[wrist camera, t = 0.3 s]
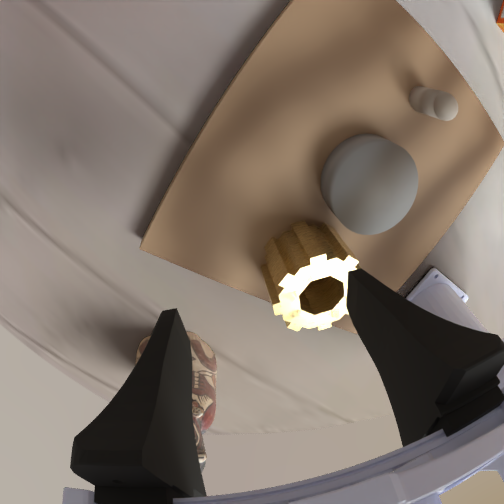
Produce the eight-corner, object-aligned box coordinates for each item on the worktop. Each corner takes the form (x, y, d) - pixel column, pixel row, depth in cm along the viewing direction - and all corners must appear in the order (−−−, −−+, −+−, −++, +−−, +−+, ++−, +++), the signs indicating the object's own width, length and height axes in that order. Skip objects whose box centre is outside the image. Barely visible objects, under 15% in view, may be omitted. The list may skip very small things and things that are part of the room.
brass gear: (358, 243, 22) (384, 276, 18) (309, 302, 24) (325, 340, 21) (294, 204, 19) (315, 236, 16) (243, 275, 22) (253, 316, 18)
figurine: (223, 335, 26) (244, 468, 16) (207, 382, 30) (220, 494, 20) (138, 324, 24) (126, 463, 14) (135, 374, 28) (130, 490, 18)
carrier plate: (495, 139, 20) (533, 157, 16) (351, 325, 28) (371, 361, 25) (328, -44, 12) (362, -66, 8) (141, 239, 20) (131, 281, 16)
